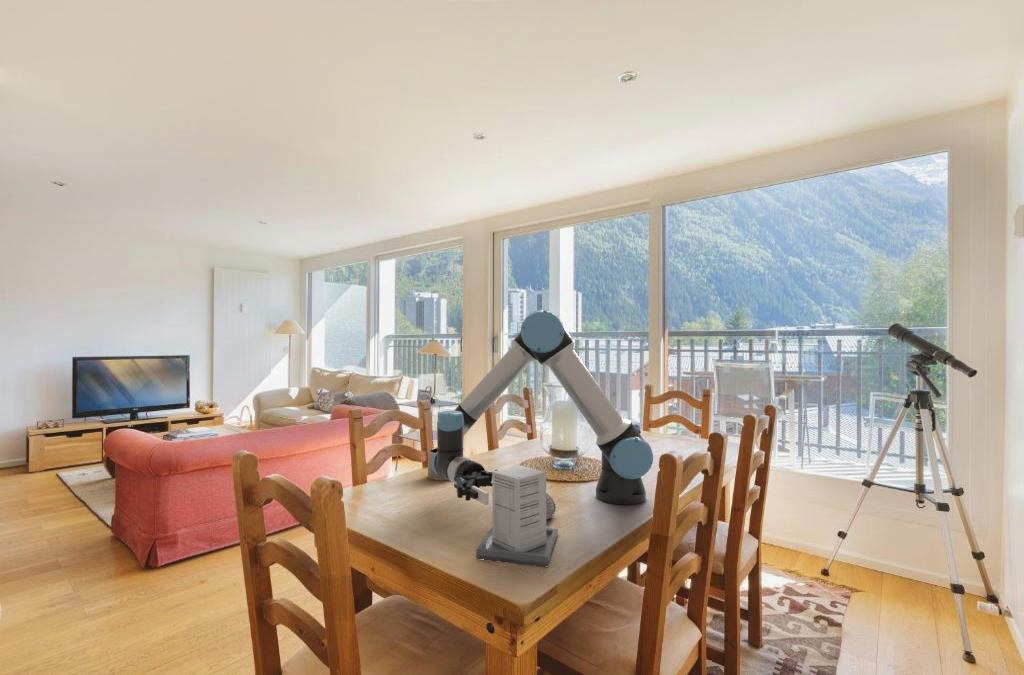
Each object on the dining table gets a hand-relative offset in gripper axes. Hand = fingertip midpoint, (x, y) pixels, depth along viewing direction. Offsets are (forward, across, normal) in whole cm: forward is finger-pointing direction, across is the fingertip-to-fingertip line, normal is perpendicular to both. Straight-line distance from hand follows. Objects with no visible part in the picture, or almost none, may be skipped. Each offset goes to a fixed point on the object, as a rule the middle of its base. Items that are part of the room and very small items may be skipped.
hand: (511, 493), depth 117 cm
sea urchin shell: (-12, -15, -12) cm, 23 cm away
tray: (+3, 0, -12) cm, 12 cm away
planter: (-60, -13, -12) cm, 63 cm away
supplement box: (+3, 0, -11) cm, 11 cm away
